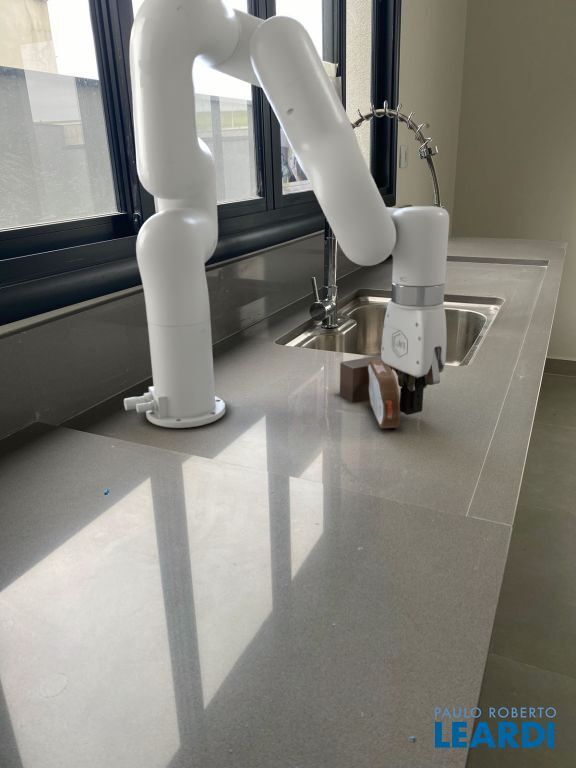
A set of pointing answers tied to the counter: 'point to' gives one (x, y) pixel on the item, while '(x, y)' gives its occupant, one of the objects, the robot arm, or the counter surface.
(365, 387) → the block
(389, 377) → the tin
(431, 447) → the counter surface
